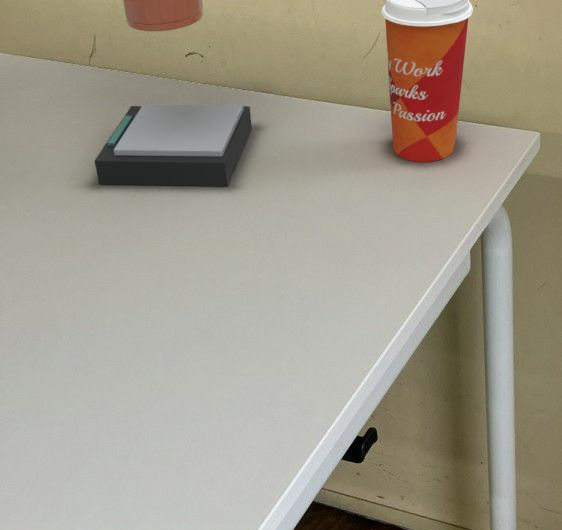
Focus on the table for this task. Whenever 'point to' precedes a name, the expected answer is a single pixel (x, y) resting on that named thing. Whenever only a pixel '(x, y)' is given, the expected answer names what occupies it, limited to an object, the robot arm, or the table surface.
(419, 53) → the paper cup
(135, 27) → the cup
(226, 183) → the scale
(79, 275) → the table surface
